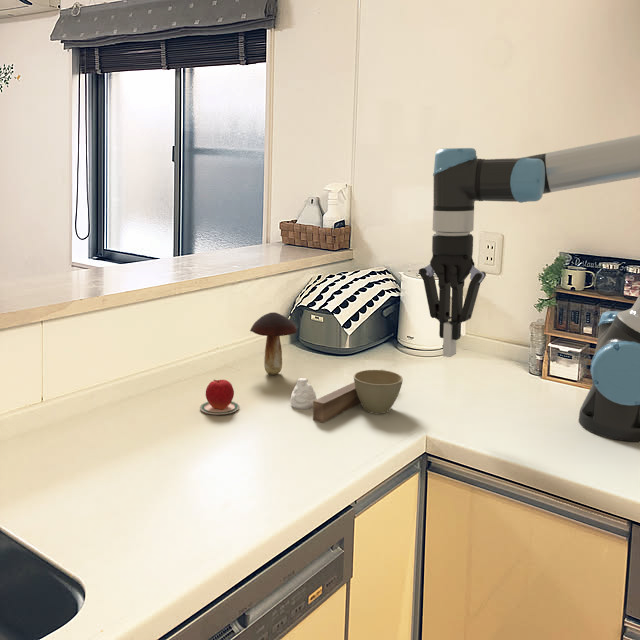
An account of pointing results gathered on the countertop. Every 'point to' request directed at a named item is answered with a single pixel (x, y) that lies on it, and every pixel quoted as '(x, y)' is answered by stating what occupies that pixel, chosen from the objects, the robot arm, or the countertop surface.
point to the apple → (219, 398)
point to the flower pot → (377, 389)
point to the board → (335, 403)
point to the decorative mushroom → (273, 338)
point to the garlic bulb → (303, 395)
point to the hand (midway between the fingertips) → (449, 354)
